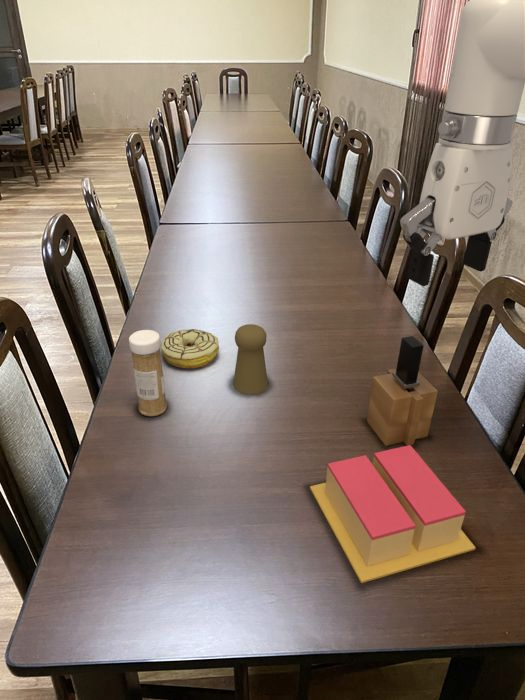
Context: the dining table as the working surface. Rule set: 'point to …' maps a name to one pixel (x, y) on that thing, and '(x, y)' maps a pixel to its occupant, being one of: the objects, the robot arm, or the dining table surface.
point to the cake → (391, 513)
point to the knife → (408, 363)
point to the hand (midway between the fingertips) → (446, 274)
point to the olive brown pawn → (250, 360)
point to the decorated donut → (189, 348)
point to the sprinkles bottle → (148, 372)
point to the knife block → (400, 409)
